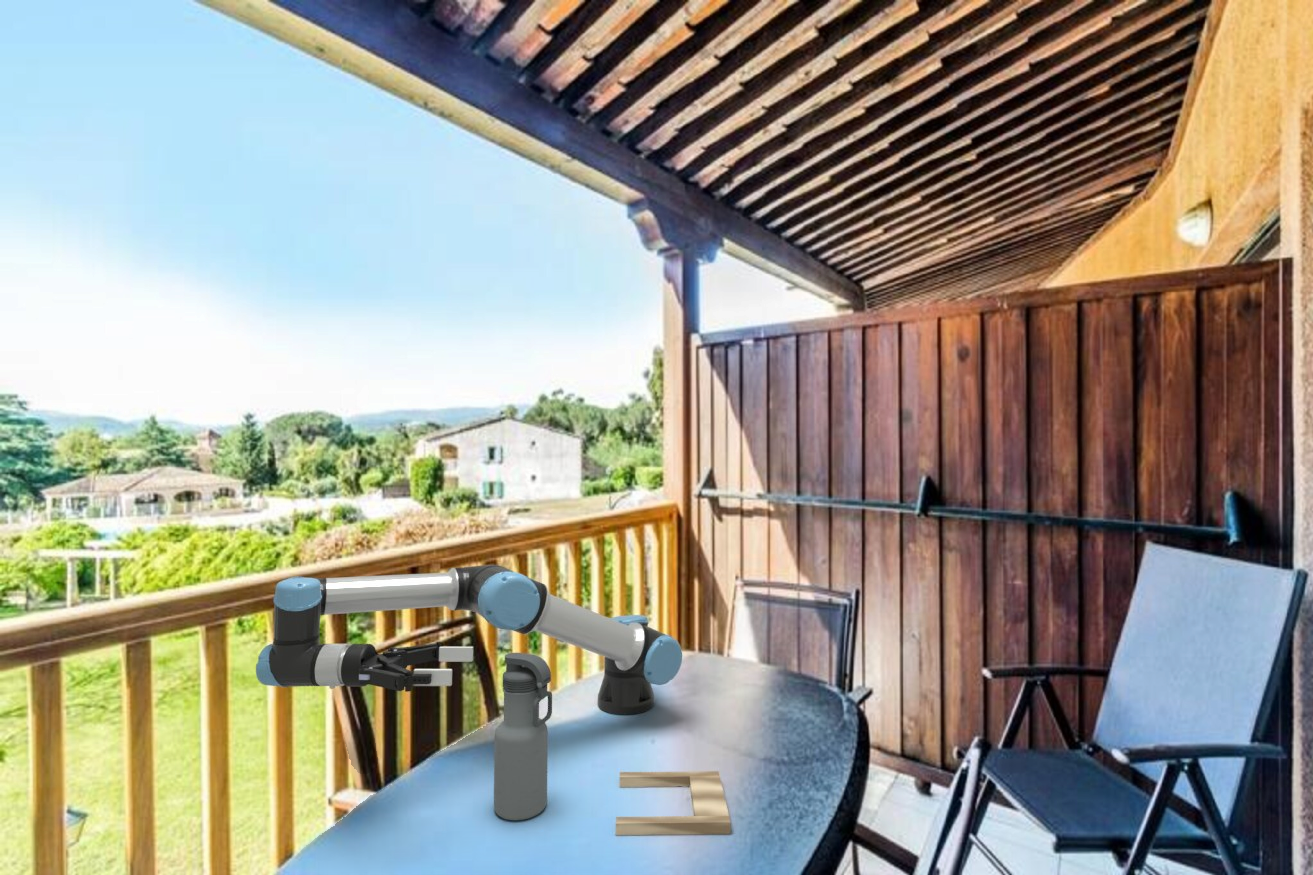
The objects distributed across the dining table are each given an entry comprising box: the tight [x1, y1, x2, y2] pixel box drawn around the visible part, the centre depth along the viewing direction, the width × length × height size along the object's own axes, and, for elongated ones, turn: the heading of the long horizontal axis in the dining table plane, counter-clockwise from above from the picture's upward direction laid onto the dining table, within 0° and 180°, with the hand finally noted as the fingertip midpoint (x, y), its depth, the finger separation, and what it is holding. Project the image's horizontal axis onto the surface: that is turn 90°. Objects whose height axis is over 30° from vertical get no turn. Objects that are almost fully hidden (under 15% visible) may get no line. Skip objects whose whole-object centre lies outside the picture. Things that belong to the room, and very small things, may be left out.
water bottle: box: [493, 652, 553, 821], centre depth 118 cm, size 10×10×28 cm
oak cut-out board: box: [615, 770, 732, 836], centre depth 118 cm, size 18×20×2 cm
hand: (462, 665), depth 117 cm, fingers open, 13 cm apart
